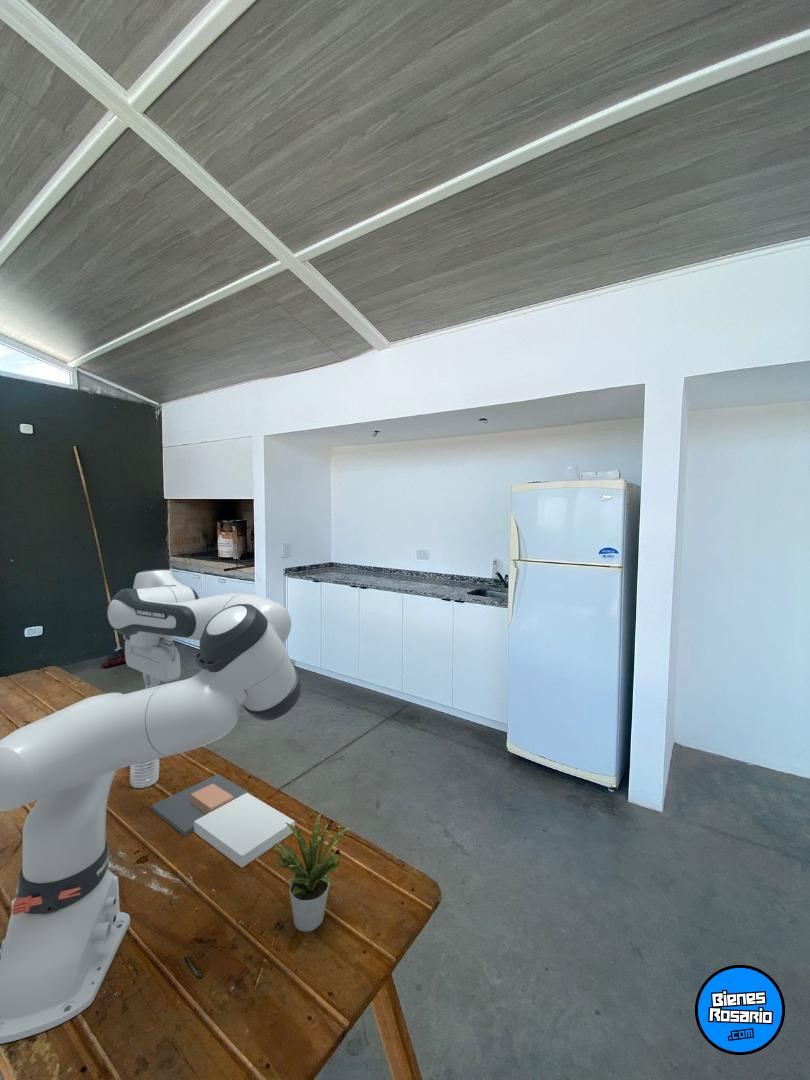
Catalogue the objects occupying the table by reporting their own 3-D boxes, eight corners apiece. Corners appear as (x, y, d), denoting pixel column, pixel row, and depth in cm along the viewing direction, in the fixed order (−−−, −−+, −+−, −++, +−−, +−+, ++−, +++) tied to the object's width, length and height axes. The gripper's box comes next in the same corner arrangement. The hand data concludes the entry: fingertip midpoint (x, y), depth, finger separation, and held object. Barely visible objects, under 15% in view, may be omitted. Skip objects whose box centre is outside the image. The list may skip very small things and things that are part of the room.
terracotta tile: (233, 805, 111) (233, 796, 111) (210, 817, 107) (210, 808, 107) (212, 791, 117) (212, 783, 117) (190, 802, 112) (190, 794, 112)
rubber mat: (252, 798, 116) (253, 794, 116) (184, 836, 101) (184, 831, 101) (218, 777, 125) (218, 774, 125) (150, 809, 110) (150, 805, 110)
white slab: (294, 831, 104) (294, 820, 104) (241, 867, 93) (241, 856, 92) (246, 802, 114) (246, 792, 114) (193, 831, 103) (194, 821, 103)
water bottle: (154, 772, 127) (156, 684, 126) (162, 782, 122) (163, 691, 121) (126, 781, 122) (128, 690, 121) (133, 792, 117) (135, 697, 116)
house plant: (334, 873, 92) (336, 794, 91) (366, 924, 80) (368, 834, 80) (264, 902, 84) (266, 817, 84) (287, 964, 73) (290, 865, 72)
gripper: (188, 639, 106) (187, 697, 107) (146, 626, 118) (145, 678, 118) (161, 644, 101) (160, 705, 102) (119, 630, 113) (119, 685, 113)
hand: (152, 691), depth 110 cm, fingers closed
